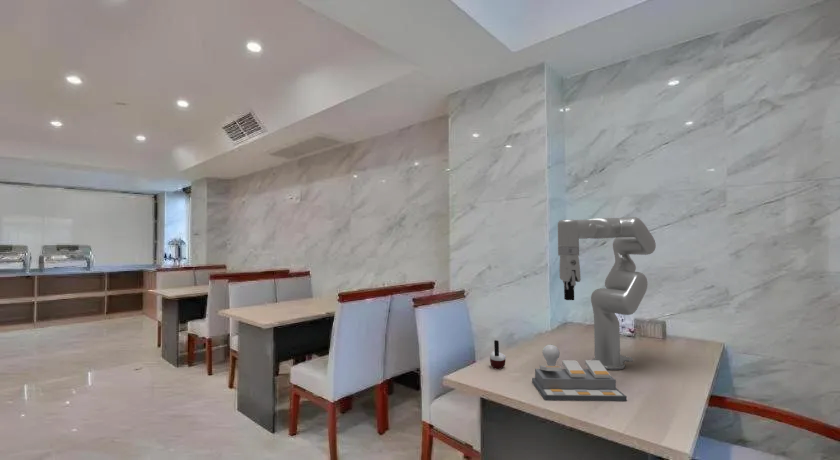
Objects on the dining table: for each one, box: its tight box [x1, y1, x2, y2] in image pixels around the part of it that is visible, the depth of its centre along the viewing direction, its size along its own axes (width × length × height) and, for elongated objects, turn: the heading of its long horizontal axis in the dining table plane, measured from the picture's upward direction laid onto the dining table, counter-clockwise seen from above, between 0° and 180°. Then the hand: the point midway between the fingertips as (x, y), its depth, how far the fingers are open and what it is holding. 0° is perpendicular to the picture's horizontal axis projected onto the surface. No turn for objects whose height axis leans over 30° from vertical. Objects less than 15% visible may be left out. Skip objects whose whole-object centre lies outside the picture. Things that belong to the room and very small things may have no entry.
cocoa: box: [489, 339, 507, 370], centre depth 156 cm, size 10×6×12 cm, turn 142°
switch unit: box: [531, 368, 627, 402], centre depth 131 cm, size 26×16×5 cm, turn 88°
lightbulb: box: [542, 344, 560, 366], centre depth 149 cm, size 6×6×11 cm
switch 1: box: [539, 365, 563, 371], centre depth 134 cm, size 5×9×1 cm, turn 178°
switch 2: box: [561, 359, 586, 377], centre depth 133 cm, size 5×9×1 cm, turn 178°
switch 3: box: [584, 359, 611, 378], centre depth 133 cm, size 5×9×1 cm, turn 178°
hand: (569, 299), depth 146 cm, fingers closed
